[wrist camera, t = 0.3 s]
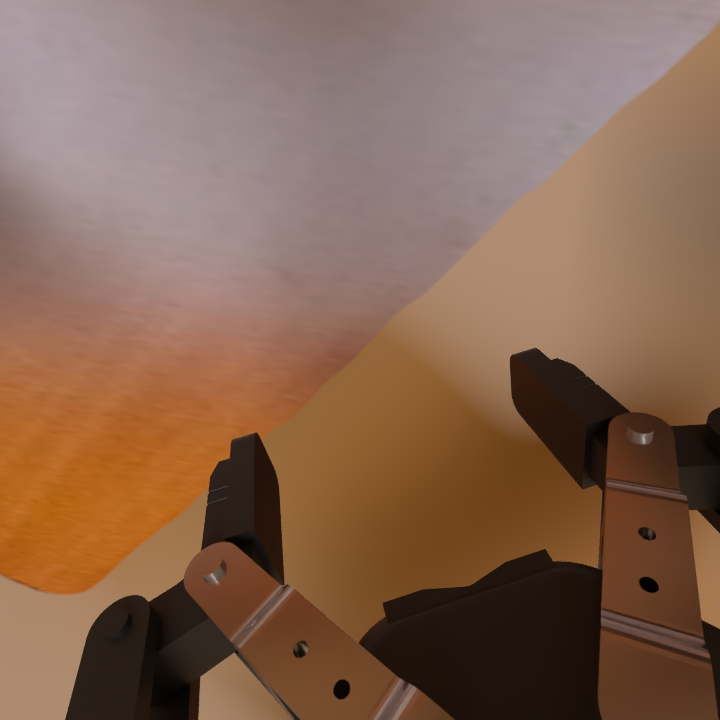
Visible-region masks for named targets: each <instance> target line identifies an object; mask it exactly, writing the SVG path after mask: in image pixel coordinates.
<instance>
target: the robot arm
mask: <svg viewBox="0 0 720 720" xmlns="http://www.w3.org/2000/svg"><path fill="white" fill-rule="evenodd" d="M510 374H511V391H512V399H513V403H514V405H515V407H516V409H517V411H518V413H519V414H520V415H521V417H522V418H523V419H524V420H525V421H526V423H527V424H528V425H529V426H530V427H531V429H532V430H533V431H534V432H535V433H536V434H537V436H538V437H539V438H540V439H541V441H542V442H543V443H544V444H545V445H546V447H547V448H548V449H549V450H550V451H551V452H552V454H553V455H554V456H555V457H556V458H557V460H558V461H559V462H560V463H561V465H562V466H563V467H564V468H565V469H566V470H567V472H568V473H569V474H570V475H571V476H572V478H573V479H574V480H575V481H576V482H577V484H578V485H579V486H580V487H581V488H582V489H585V488H588V487H591V486H594V485H598V487H599V488H600V489H601V490H602V502H601V520H600V539H599V555H598V568H594V567H591V566H587V565H584V564H579V563H573V562H561V561H556V562H553V561H552V559H551V558H550V556H549V554H548V553H547V551H546V550H545V549H544V550H541V551H538V552H535V553H532V554H529V555H526V556H523V557H520V558H517V559H514V560H511V561H508V562H505V563H504V564H502V565H501V566H499V567H498V568H496V569H495V570H493V571H492V572H490V573H489V574H487V575H486V576H484V577H483V578H481V579H480V580H479V581H477V582H476V583H474V584H472V585H470V586H467V587H455V588H439V589H424V590H420V591H417V592H414V593H411V594H408V595H406V596H402V597H399V598H396V599H393V600H390V601H387V602H384V603H383V607H384V610H385V615H386V617H384V618H383V619H382V620H380V621H378V622H377V623H376V624H375V625H374V626H373V627H372V628H370V629H369V631H368V632H367V633H366V634H365V635H364V636H363V637H362V639H361V640H360V641H359V643H358V642H356V641H355V640H354V639H353V638H352V637H351V636H349V635H348V634H347V633H346V632H345V631H343V630H342V629H341V628H340V627H339V626H337V625H336V624H335V623H334V622H333V621H332V620H331V619H329V618H328V617H327V616H326V615H325V614H324V613H322V612H321V611H320V610H319V609H318V608H317V607H315V606H314V605H313V604H312V603H311V602H310V601H308V600H307V599H306V598H304V596H302V595H301V594H300V593H299V592H298V591H297V590H295V589H294V588H293V587H291V586H290V585H286V586H285V587H283V585H284V567H283V549H282V531H281V514H280V496H279V484H278V479H277V475H276V472H275V470H274V467H273V465H272V462H271V460H270V458H269V456H268V454H267V452H266V449H265V447H264V445H263V443H262V441H261V439H260V437H259V435H258V434H257V433H253V434H250V435H247V436H243V437H240V438H237V439H234V440H232V441H231V451H230V459H226V460H223V461H220V462H218V464H217V466H216V468H215V469H214V471H213V473H212V475H211V476H210V484H209V494H208V500H207V503H208V506H207V508H206V516H205V524H204V533H203V541H202V548H201V552H200V553H198V554H197V555H196V556H195V557H194V558H193V560H192V561H191V562H190V564H189V565H188V567H187V569H186V571H185V575H184V579H183V580H182V581H181V582H179V583H178V584H177V585H175V586H174V587H172V588H170V589H169V590H167V591H166V592H164V593H163V594H161V595H159V596H158V597H156V598H154V599H153V600H151V601H150V602H148V601H147V600H146V599H145V598H144V597H142V596H139V595H131V596H127V597H124V598H122V599H119V600H118V601H116V602H114V603H113V604H112V605H110V606H109V607H108V608H106V609H105V610H104V611H103V612H102V613H101V614H100V615H99V617H98V618H97V619H96V621H95V622H94V624H93V625H92V627H91V629H90V631H89V633H88V636H87V639H86V643H85V646H84V650H83V654H82V658H81V662H80V666H79V669H78V673H77V677H76V681H75V685H74V688H73V692H72V697H71V700H70V704H69V707H68V712H67V715H66V719H65V720H198V713H199V691H200V676H202V675H203V674H204V673H206V672H207V671H209V670H210V669H211V668H213V667H214V666H216V665H217V664H218V663H220V662H221V661H223V660H224V659H225V658H227V657H228V656H230V655H231V654H233V653H235V654H236V655H237V656H238V658H239V659H240V660H241V661H242V662H243V663H244V665H245V666H246V667H247V668H248V669H249V670H250V671H251V672H252V674H253V675H254V676H255V677H256V678H257V679H258V681H260V683H261V684H262V685H263V686H264V688H265V689H266V690H267V691H268V692H269V693H270V694H271V696H272V697H273V698H274V699H275V700H276V701H277V703H278V704H279V705H280V706H281V707H282V709H283V710H284V711H285V712H286V714H287V715H288V716H289V717H290V719H291V720H720V629H718V628H717V627H715V626H713V625H711V624H708V623H707V622H705V621H703V620H702V619H701V611H700V603H699V593H698V585H697V576H696V568H695V559H694V551H693V543H692V533H691V525H690V516H689V510H698V511H699V512H700V513H701V514H702V515H703V516H704V517H705V518H706V519H707V520H708V522H709V523H711V524H712V526H713V527H714V528H715V529H716V530H717V531H718V532H719V533H720V408H717V409H715V410H713V411H712V412H711V413H710V414H709V416H708V419H707V423H706V424H704V425H686V426H669V425H668V424H667V423H666V422H665V421H663V420H662V419H659V418H658V417H655V416H653V415H649V414H645V413H636V412H634V413H633V412H632V413H631V412H630V411H628V410H627V409H626V408H625V407H624V406H622V405H621V404H620V403H619V402H618V401H617V400H615V399H614V398H613V397H612V396H611V395H609V394H608V393H607V392H606V391H604V390H603V389H602V388H601V387H600V386H599V385H596V384H595V382H593V380H591V379H590V378H589V377H586V375H585V374H584V373H583V372H582V371H581V370H579V369H578V368H577V367H576V366H575V365H573V364H571V363H568V362H565V361H563V360H560V359H558V358H556V359H553V360H550V359H549V358H548V357H547V356H545V355H544V354H543V353H542V352H541V351H540V350H538V349H537V348H533V349H530V350H527V351H523V352H520V353H517V354H513V355H512V356H511V357H510Z"/></svg>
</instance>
